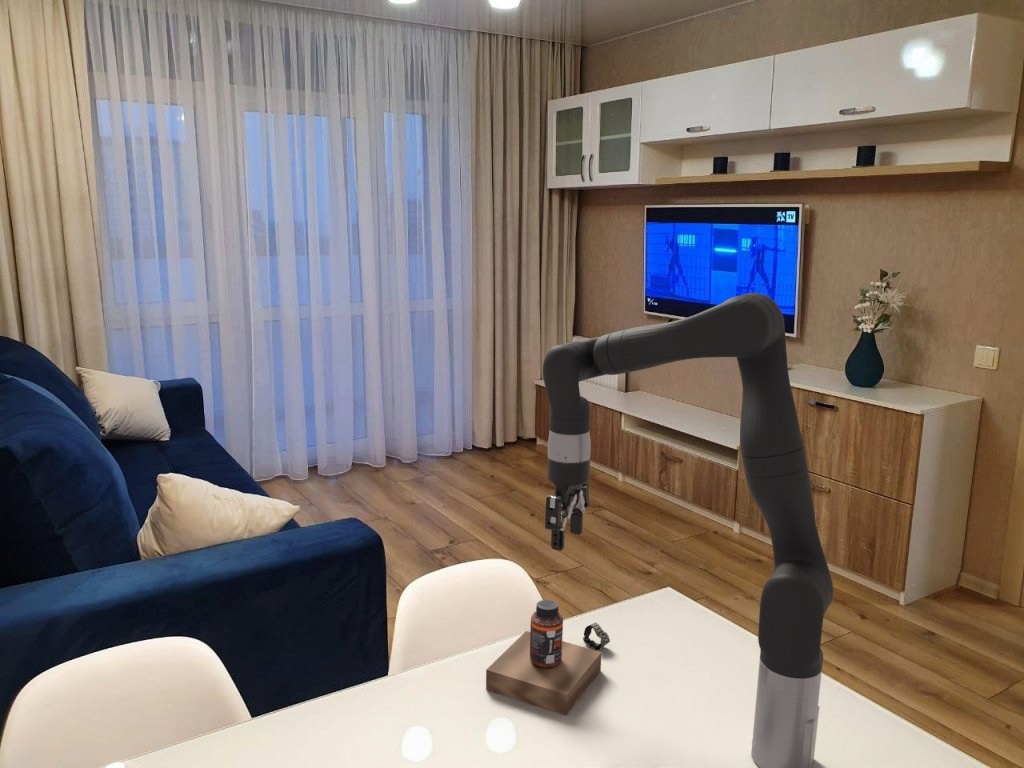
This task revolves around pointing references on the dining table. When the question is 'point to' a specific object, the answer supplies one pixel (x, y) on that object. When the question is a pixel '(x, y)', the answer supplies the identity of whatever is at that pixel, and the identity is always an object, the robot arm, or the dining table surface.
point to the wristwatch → (599, 633)
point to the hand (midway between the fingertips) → (567, 541)
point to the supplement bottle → (546, 635)
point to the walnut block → (544, 675)
